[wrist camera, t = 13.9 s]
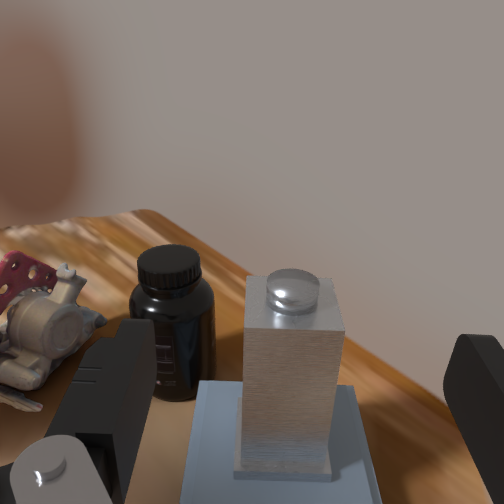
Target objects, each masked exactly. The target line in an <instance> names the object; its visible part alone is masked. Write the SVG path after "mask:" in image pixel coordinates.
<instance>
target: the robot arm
mask: <svg viewBox="0 0 504 504" xmlns="http://www.w3.org/2000/svg"><path fill="white" fill-rule="evenodd" d="M156 375H157V359H156V345H155V332H154V323H153V320H149V319H126V318H124V319H123V320H122V321H121V324H120V326H119V328H118V331H117V333H116V335H115V338H105V337H101V338H100V339H99V340H97V341H96V342H95V343H94V344H93V345H92V346H91V347H90V348H89V349H88V350H86V352H85V354H84V356H83V358H82V360H81V362H80V364H79V366H78V370H77V371H76V373H75V375H74V377H73V379H72V383H70V385H69V387H68V389H67V391H66V393H65V395H64V397H63V399H62V402H61V404H60V406H59V408H58V410H57V412H56V414H55V416H54V418H53V420H52V422H51V424H50V426H49V428H48V430H47V433H46V434H45V436H44V438H43V439H40V440H38V441H36V442H35V443H33V444H31V445H30V446H28V447H27V448H26V449H25V450H24V451H23V452H22V453H21V454H20V455H19V456H18V457H17V459H16V460H15V462H13V463H10V464H8V465H5V466H2V467H0V504H124V502H125V498H126V494H127V491H128V487H129V483H130V479H131V475H132V472H133V468H134V464H135V460H136V456H137V453H138V449H139V445H140V441H141V437H142V434H143V430H144V426H145V422H146V419H147V415H148V411H149V407H150V403H151V400H152V396H153V392H154V388H155V383H156ZM443 390H444V396H445V400H446V402H447V404H448V407H449V409H450V411H451V413H452V415H453V417H454V419H455V422H456V424H457V426H458V428H459V430H460V432H461V435H462V437H463V439H464V441H465V443H466V445H467V447H468V450H469V452H470V454H471V456H472V458H473V460H474V463H475V465H476V467H477V469H478V471H479V473H480V475H481V478H482V480H483V482H484V484H485V486H486V488H487V491H488V493H489V495H490V497H491V499H492V501H493V503H494V504H504V349H503V348H502V347H501V345H500V344H499V342H498V341H497V339H496V338H495V337H494V336H492V335H475V334H461V335H460V336H459V337H458V338H457V341H456V343H455V347H454V349H453V352H452V355H451V358H450V361H449V364H448V367H447V370H446V373H445V376H444V381H443Z"/></svg>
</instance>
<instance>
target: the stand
mask: <svg viewBox="0 0 504 504" xmlns="http://www.w3.org/2000/svg"><path fill="white" fill-rule="evenodd" d="M242 388H243V382H238V381H199V387H198V393H197V399H196V405H195V411H194V417H193V423H192V429H191V435H190V441H189V447H188V453H187V459H186V466H185V472H184V478H183V484H182V490H181V496H180V502H179V504H382V500H381V496H380V492H379V488H378V484H377V480H376V476H375V472H374V468H373V464H372V460H371V456H370V452H369V447H368V443H367V439H366V435H365V431H364V427H363V423H362V419H361V415H360V411H359V407H358V403H357V399H356V395H355V391H354V387H353V386H347V385H337V388H336V394H335V401H334V407H333V414H332V420H331V427H330V433H329V440H328V453H329V459H330V466H331V472H332V476H331V482H330V483H320V482H290V481H261V480H233V473H234V454H235V437H236V420H237V403H238V397H242Z"/></svg>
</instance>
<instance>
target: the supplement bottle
mask: <svg viewBox="0 0 504 504" xmlns="http://www.w3.org/2000/svg"><path fill="white" fill-rule="evenodd" d="M137 267H138V282H139V284H138V285H137V286H136V287H135V288H134V290H133V291H132V293H131V296H130V299H129V310H130V317H131V319H149V320H153V323H154V332H155V345H156V359H157V375H156V383H155V388H154V392H153V396H154V397H156V398H158V399H162V400H166V401H181V400H186V399H190V398H192V397H195V396H197V393H198V387H199V381H213V380H214V377H215V374H216V332H215V302H214V293H213V290H212V288H211V287H210V285H209V284H208V283H207V282H206V281H205V280H204V279H203V278H202V270H201V267H200V256H199V254H198V253H197V251H195V250H194V249H193V248H190V247H187V246H184V245H176V244H172V245H171V244H168V245H161V246H156V247H152V248H151V249H147V250H146V251H144V252H143V253H142V254H140V256H139V257H138V260H137Z"/></svg>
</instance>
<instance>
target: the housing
mask: <svg viewBox="0 0 504 504" xmlns="http://www.w3.org/2000/svg"><path fill="white" fill-rule="evenodd" d="M344 336H345V328H344V324H343V321H342V316H341V313H340V309H339V306H338V302H337V298H336V294H335V290H334V286H333V282H332V279H331V278H317V277H315V276H314V275H313V274H311V273H309V272H306V271H303V270H299V269H281V270H277V271H275V272H273V273H271V274H270V275H269V276H247V280H246V299H245V319H244V349H243V388H242V397H238V403H237V420H236V437H235V454H234V473H233V480H261V481H290V482H320V483H330V482H331V476H332V472H331V466H330V459H329V453H328V440H329V433H330V427H331V420H332V414H333V407H334V401H335V394H336V388H337V382H338V375H339V369H340V362H341V356H342V349H343V343H344Z"/></svg>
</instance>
